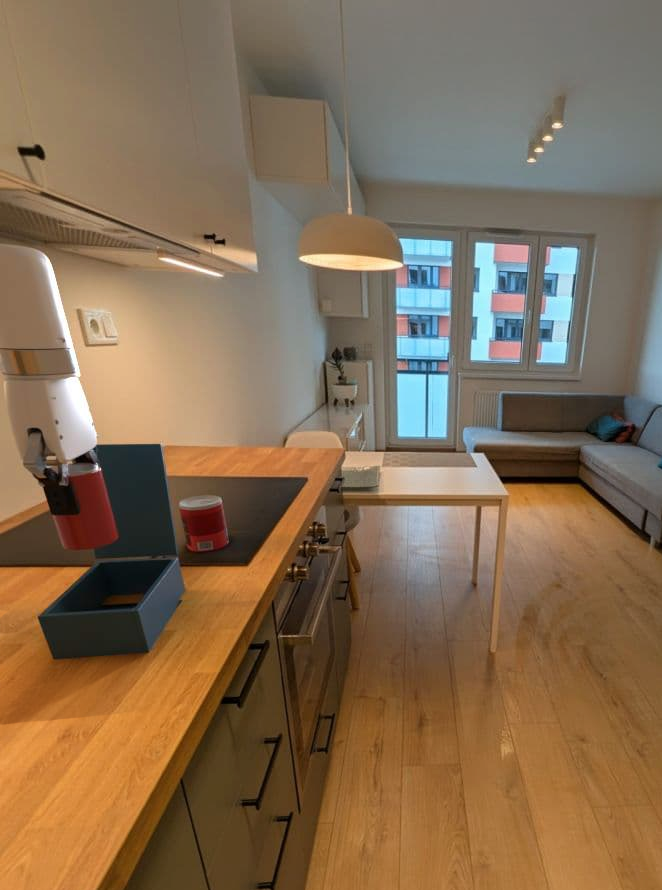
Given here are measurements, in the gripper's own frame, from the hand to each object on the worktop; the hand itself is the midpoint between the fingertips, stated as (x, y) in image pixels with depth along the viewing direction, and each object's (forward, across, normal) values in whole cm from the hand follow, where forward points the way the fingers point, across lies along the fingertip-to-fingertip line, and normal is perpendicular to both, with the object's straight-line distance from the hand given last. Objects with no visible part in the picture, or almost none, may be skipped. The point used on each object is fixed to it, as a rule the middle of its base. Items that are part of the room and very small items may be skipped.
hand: (80, 503), depth 68 cm
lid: (+5, -14, 0) cm, 14 cm away
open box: (+22, -4, 0) cm, 22 cm away
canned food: (+22, -32, +5) cm, 40 cm away
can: (+5, 0, 0) cm, 5 cm away
